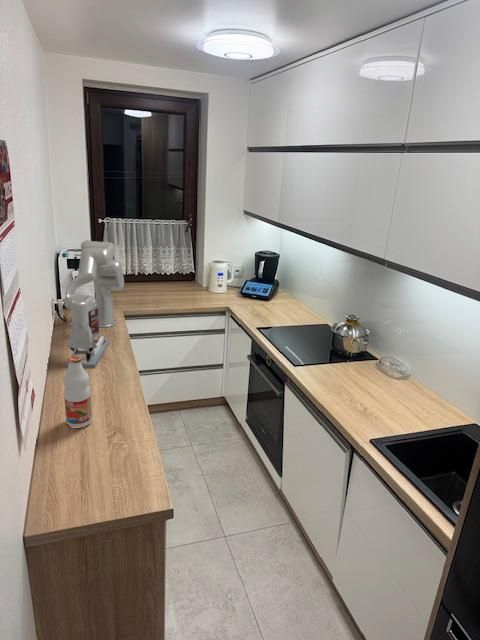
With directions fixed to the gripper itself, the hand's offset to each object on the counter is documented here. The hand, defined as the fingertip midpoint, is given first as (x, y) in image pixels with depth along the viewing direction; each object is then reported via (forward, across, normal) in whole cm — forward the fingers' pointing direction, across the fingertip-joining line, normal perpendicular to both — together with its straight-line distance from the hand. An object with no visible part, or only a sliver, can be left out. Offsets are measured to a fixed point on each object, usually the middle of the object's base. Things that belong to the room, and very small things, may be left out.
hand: (83, 359), depth 217 cm
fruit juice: (+3, +13, -51) cm, 53 cm away
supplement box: (+2, -5, +35) cm, 36 cm away
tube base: (+2, 0, +11) cm, 11 cm away
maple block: (0, 0, -2) cm, 2 cm away
